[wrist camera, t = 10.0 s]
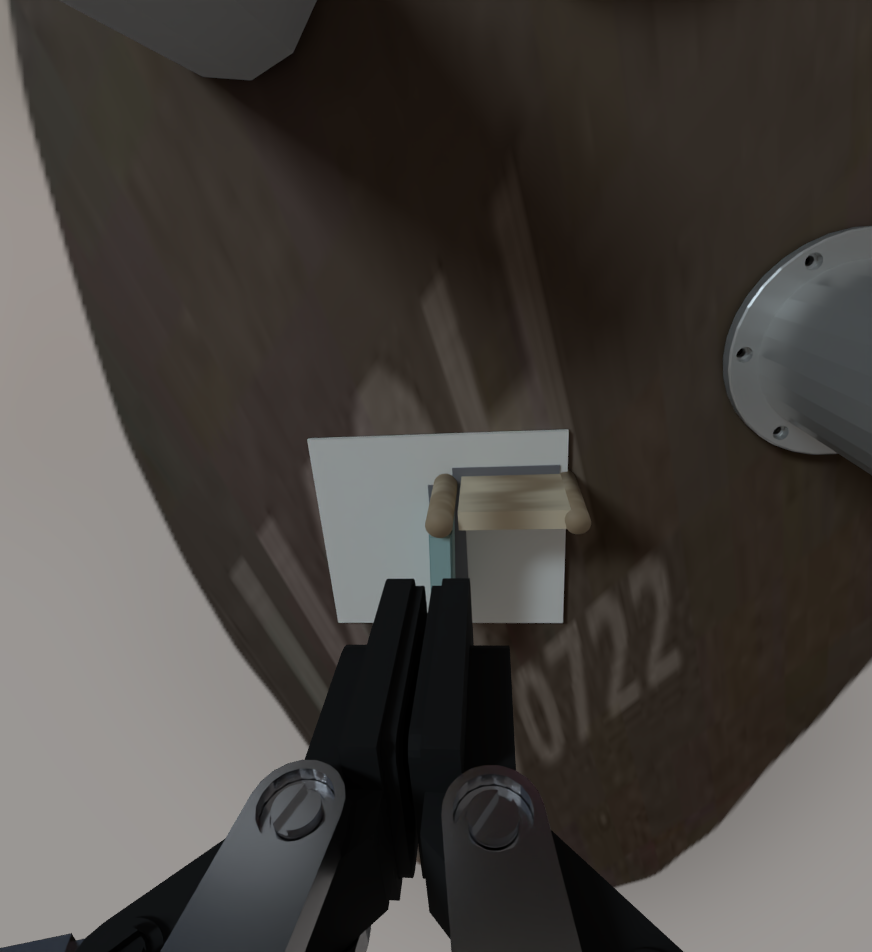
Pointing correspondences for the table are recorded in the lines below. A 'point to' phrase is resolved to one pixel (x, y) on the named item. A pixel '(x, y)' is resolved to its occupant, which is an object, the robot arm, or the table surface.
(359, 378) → the table surface
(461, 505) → the fence fixed
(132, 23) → the jar
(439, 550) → the fence gate
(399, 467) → the card
